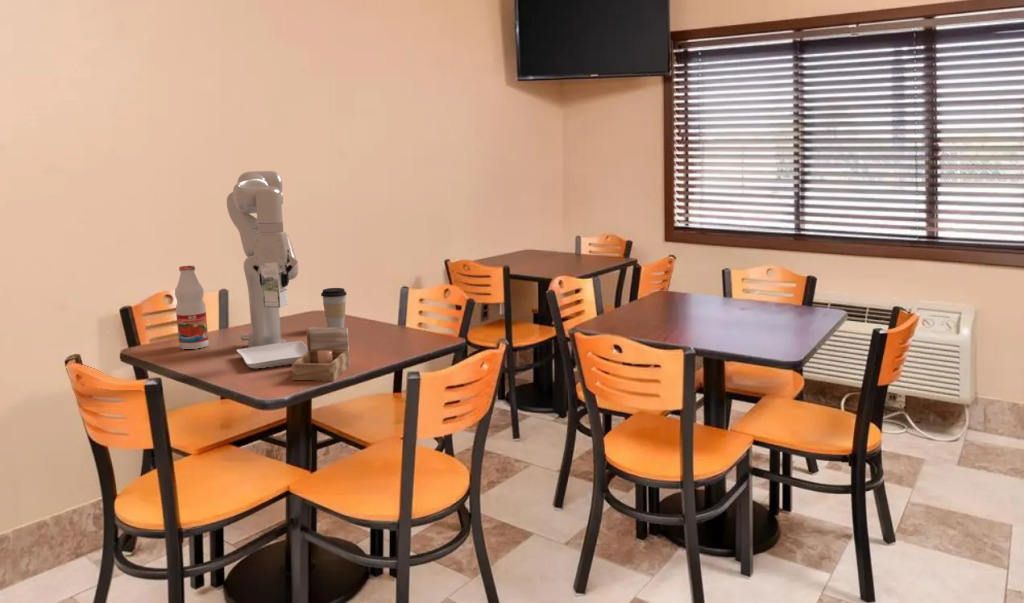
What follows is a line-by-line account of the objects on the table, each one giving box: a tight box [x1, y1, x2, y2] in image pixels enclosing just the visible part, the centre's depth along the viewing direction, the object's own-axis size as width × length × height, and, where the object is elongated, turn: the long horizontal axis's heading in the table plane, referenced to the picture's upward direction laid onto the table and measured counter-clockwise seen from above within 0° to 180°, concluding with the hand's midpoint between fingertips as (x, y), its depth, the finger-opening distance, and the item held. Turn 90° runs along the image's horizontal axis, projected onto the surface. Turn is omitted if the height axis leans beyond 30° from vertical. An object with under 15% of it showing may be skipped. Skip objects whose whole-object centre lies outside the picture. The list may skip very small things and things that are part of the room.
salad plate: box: [236, 340, 308, 370], centre depth 248 cm, size 21×21×3 cm
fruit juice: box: [174, 265, 210, 350], centre depth 264 cm, size 9×9×28 cm
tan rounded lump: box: [317, 349, 333, 364], centre depth 235 cm, size 4×4×6 cm
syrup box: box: [261, 262, 289, 309], centre depth 242 cm, size 6×6×14 cm
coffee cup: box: [320, 287, 347, 328], centre depth 291 cm, size 9×9×15 cm
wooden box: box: [291, 327, 351, 382], centre depth 231 cm, size 17×12×12 cm
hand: (274, 285), depth 242 cm, fingers closed on syrup box, 6 cm apart
